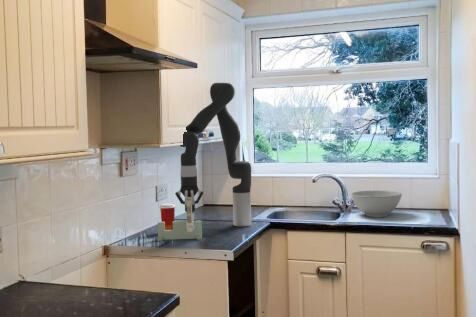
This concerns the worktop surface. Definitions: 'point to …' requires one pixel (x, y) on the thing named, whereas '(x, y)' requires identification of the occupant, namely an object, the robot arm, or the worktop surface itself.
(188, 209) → the beige flat panel
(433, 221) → the worktop surface
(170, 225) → the paper cup
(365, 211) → the decorative bowl
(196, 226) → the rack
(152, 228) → the worktop surface
